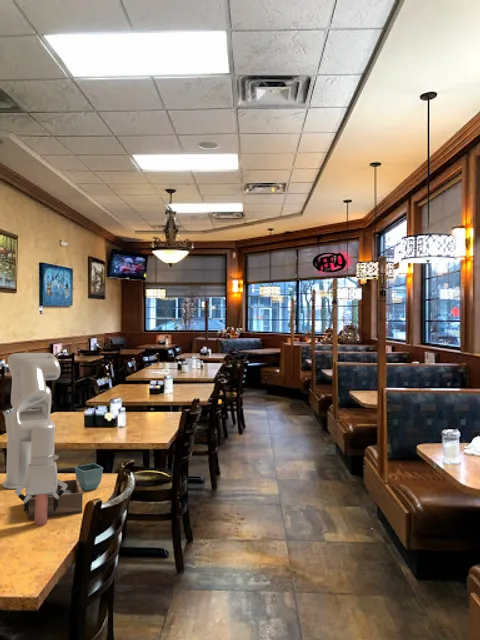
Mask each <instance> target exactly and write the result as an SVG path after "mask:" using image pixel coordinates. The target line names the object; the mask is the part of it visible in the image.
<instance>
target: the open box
mask: <svg viewBox="0 0 480 640" xmlns="http://www.w3.org/2000/svg"><path fill="white" fill-rule="evenodd" d="M61 481H62V482H64V483H66V484H67V488H66V490H65V491H64V493H63V494H62V495H61V496H60V497H59V499H58V507H57V508H56V511H54V510H53V498H54V495H53V494H52V493H49V494H48V507H47V518H52V517H58V516H65V515H66V516H67V515H72V514H73V515H74V514H81V513H83V500H84V499H83V494H84V493H83V489H81V486H80V483H79V480H78V479H76V478H75V479H67V480H65V479H64V480H61ZM61 488H62V486H60V485H58V487H57V492H58V491H59V490H60V489H61ZM27 516H28V517H27V518H28V519H27V520H35V495H31V497H30V498H29V514H27Z"/></svg>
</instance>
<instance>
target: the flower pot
mask: <svg viewBox="0 0 480 640" xmlns="http://www.w3.org/2000/svg"><path fill="white" fill-rule="evenodd" d="M74 470H75V471H74V472H75V479H78V480H79V483H80V486H81V490H82V491H85V492H87V491H91V490H95V489H98V487H99V486H100V484H101V481H102V478H103V471H104V467H102V466H101V465H99V464H96V463H89V464H83V465H79V466H74Z"/></svg>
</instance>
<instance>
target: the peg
mask: <svg viewBox="0 0 480 640" xmlns="http://www.w3.org/2000/svg"><path fill="white" fill-rule="evenodd" d="M47 507H48V494H38V495H35V519H34V525H35V526H44V525H47V524H48V517H47Z"/></svg>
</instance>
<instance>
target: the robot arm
mask: <svg viewBox="0 0 480 640" xmlns="http://www.w3.org/2000/svg"><path fill="white" fill-rule="evenodd" d="M7 357H8V358H7V366H8V370H9V372H10V376H11V391H10V405H11V407H12V408H13V409H12V411H10V412H8V413H7V414H6V416H5V419H4V420H5V431H6V475H5V477H6V478H5V479H6V480H4V481H3V482H1V486H2V488H4V489H10V490H14V489H15V490H14V493H15V494H16V495H17V497H18V499H20V500H21V501H22V502H23V506H24V507H23V511H24V512H26V513H25V514H26V515H27V516H28V514H29V498H30V497H31V495H38V494H49V493H52V494H53V495H54V498H53V510H54V511H56V508H57V507H58V499H59V497H60V496H61V495H62V494H63V493H64V491H65V490H66V488H67V484H66V483H64V482H62V481H63V480H60V479H58V466H57V462H56V460H59V455H58V454H57V455H56V454H55V434H56V429H57V428H56V424H55V422H54V421H53V420H52V419H51V410H52V409H51V408H52V392H51V388H50V387H49V386H47V384H46V381H54V380H55V381H56V380H58V379H59V378H60V375H61V366H60V363H59V360H58V358H57V357H56V356H55V354H53V353H50V352H16V353H12V354H10V355H9V356H7ZM58 485H60V486H62V488H61V489H60V490H59V491H58V492H57V487H58ZM24 489H25V495H24V494H23V492H22V491H23V490H24Z"/></svg>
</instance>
